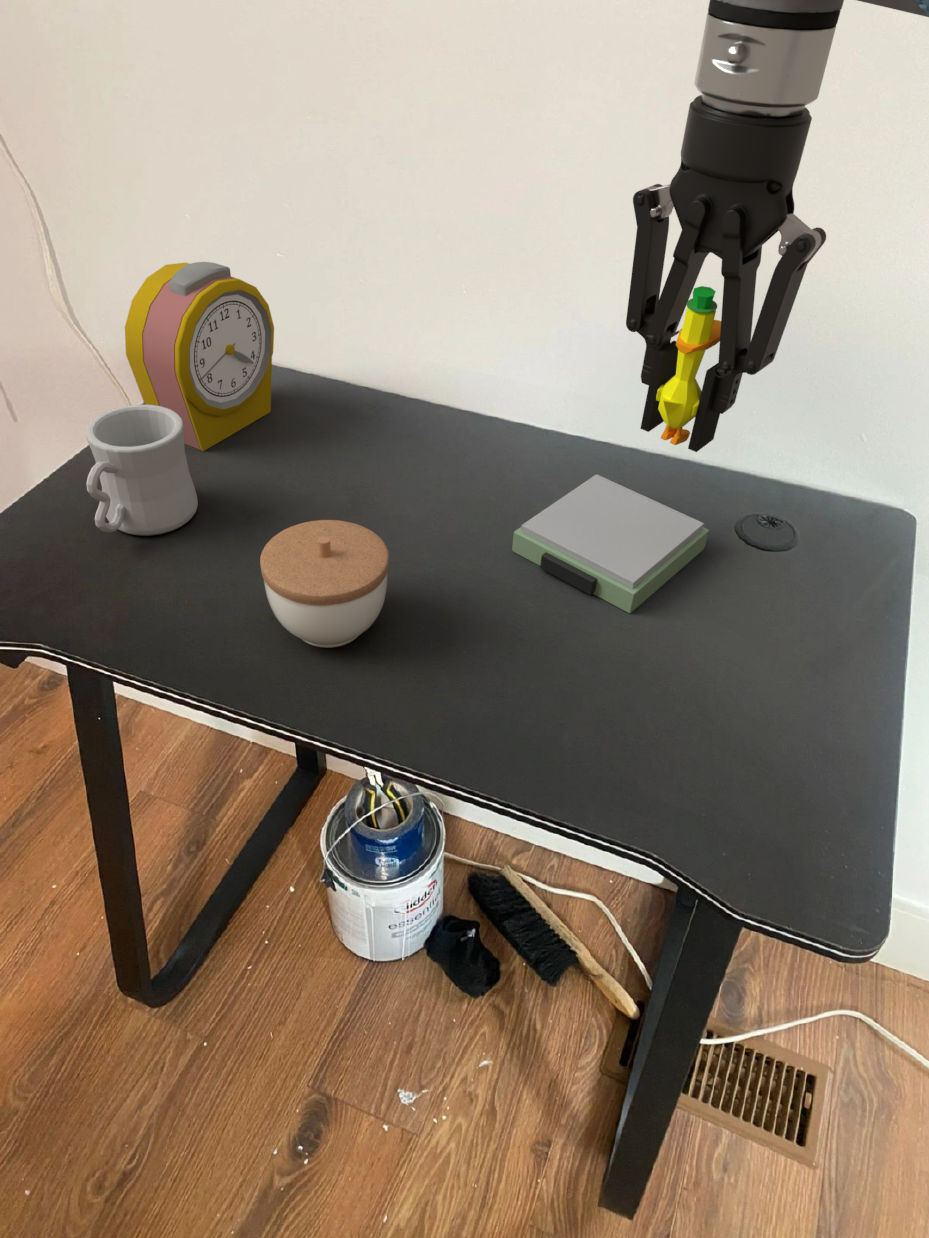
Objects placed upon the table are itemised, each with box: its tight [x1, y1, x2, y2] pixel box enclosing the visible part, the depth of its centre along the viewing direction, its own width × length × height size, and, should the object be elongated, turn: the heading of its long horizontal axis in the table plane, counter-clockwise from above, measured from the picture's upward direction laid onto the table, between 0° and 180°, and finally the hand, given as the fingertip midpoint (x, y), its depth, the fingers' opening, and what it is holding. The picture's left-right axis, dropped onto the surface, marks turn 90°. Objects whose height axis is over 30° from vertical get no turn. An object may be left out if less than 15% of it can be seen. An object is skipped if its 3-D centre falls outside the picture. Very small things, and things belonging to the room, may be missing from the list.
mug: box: [85, 404, 199, 537], centre depth 89 cm, size 12×9×10 cm
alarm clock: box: [124, 261, 275, 452], centre depth 102 cm, size 15×8×18 cm, turn 148°
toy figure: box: [656, 285, 721, 446], centre depth 68 cm, size 7×4×12 cm, turn 138°
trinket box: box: [259, 519, 390, 648], centre depth 79 cm, size 11×11×9 cm
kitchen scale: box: [511, 474, 710, 614], centre depth 91 cm, size 14×15×3 cm
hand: (676, 433), depth 72 cm, fingers closed on toy figure, 4 cm apart
